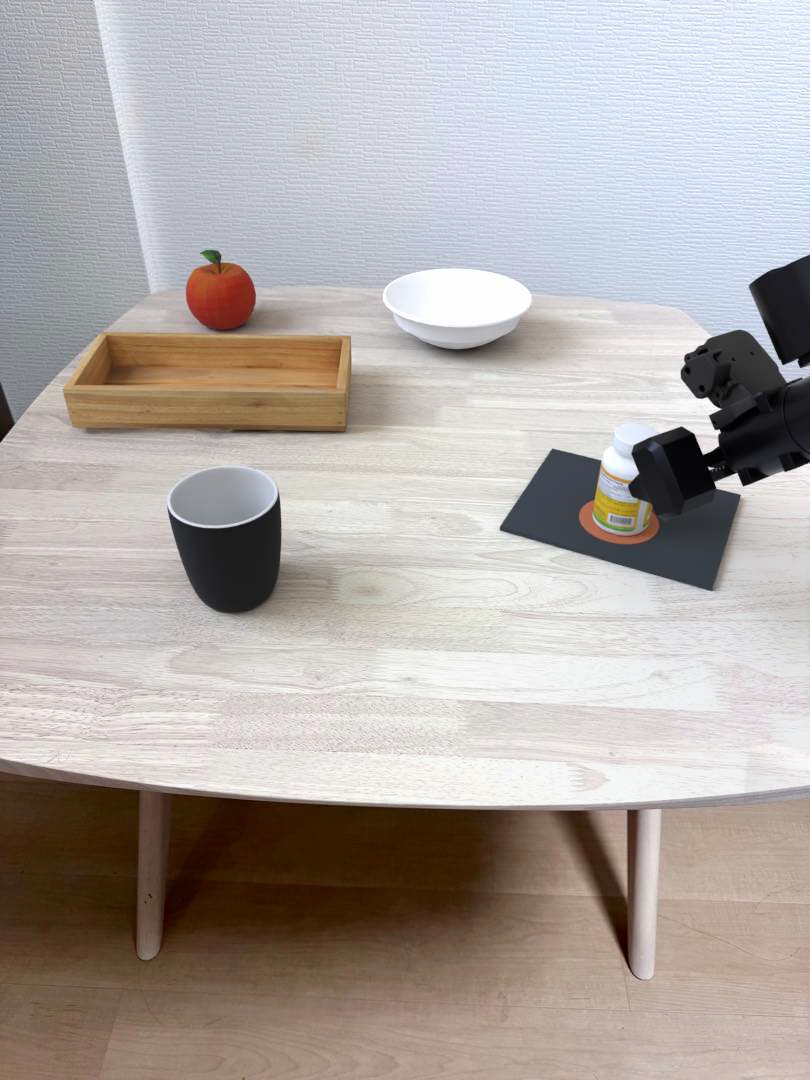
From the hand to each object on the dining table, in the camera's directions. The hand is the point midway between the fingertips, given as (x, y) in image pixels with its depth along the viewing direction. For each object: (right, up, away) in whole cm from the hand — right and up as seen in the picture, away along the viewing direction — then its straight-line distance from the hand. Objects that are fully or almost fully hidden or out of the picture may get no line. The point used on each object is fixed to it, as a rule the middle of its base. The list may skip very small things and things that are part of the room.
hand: (670, 475), depth 74 cm
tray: (-45, +11, +27) cm, 54 cm away
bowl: (-16, +22, +42) cm, 50 cm away
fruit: (-49, +25, +45) cm, 71 cm away
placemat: (-2, -3, +10) cm, 10 cm away
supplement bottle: (-2, -4, +8) cm, 9 cm away
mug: (-39, -10, +1) cm, 40 cm away
